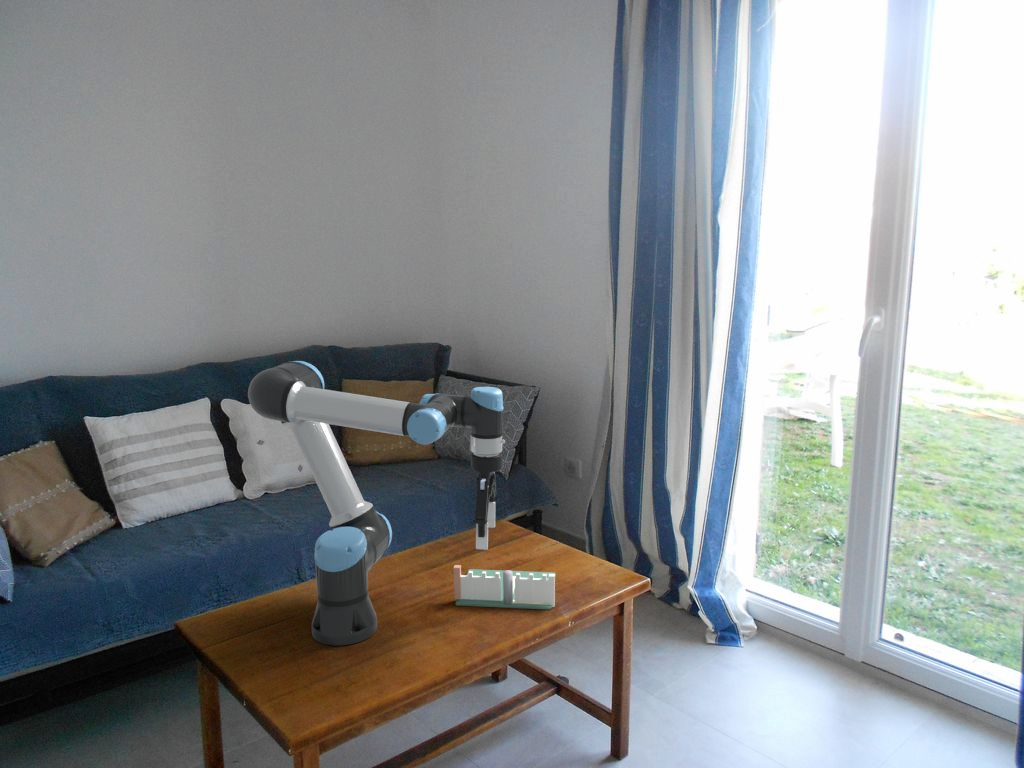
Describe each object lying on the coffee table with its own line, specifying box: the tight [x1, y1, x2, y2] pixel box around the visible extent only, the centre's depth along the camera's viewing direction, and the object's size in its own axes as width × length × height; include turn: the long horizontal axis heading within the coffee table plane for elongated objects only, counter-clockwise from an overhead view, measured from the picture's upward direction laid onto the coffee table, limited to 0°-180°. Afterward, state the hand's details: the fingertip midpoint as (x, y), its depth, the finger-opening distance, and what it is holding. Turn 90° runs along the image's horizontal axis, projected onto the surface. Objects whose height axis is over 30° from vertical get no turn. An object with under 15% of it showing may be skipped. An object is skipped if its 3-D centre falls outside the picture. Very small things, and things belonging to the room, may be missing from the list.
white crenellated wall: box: [453, 564, 501, 601], centre depth 188 cm, size 12×2×8 cm, turn 84°
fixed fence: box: [503, 569, 556, 608], centre depth 187 cm, size 13×2×8 cm, turn 84°
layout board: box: [455, 568, 557, 610], centre depth 196 cm, size 24×20×1 cm
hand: (485, 537), depth 181 cm, fingers open, 13 cm apart
